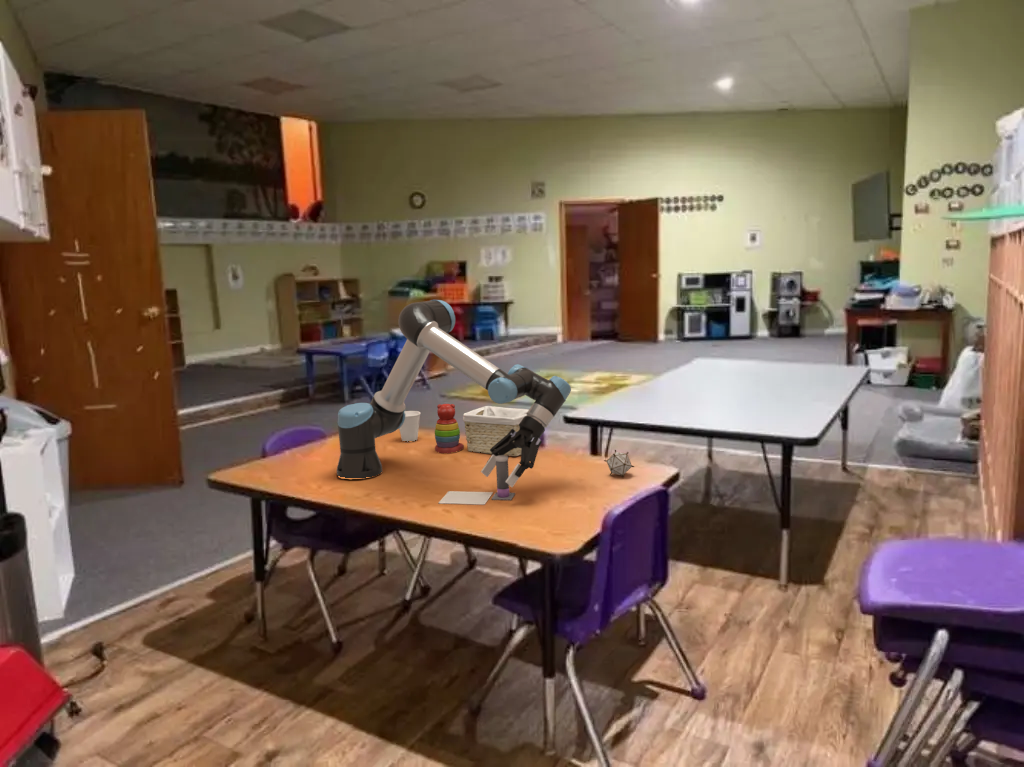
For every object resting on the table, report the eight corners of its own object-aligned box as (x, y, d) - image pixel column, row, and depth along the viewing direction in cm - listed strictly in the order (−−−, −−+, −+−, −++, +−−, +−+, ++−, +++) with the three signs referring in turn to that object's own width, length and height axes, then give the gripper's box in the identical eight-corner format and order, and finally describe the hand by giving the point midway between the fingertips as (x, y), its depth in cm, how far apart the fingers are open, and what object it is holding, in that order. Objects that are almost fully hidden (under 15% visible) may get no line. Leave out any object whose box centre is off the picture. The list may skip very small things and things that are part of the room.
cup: (393, 443, 294) (391, 416, 292) (401, 437, 304) (399, 410, 302) (418, 443, 292) (416, 416, 291) (425, 437, 302) (423, 410, 300)
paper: (438, 503, 220) (438, 502, 220) (448, 491, 231) (448, 491, 231) (484, 504, 218) (484, 504, 218) (493, 492, 228) (492, 492, 228)
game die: (625, 486, 242) (644, 462, 239) (610, 483, 235) (630, 459, 233) (608, 467, 247) (627, 444, 245) (594, 464, 241) (612, 440, 238)
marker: (496, 497, 223) (494, 458, 221) (498, 493, 226) (497, 454, 224) (508, 497, 222) (506, 458, 220) (510, 493, 225) (509, 455, 223)
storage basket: (462, 451, 278) (460, 413, 276) (487, 441, 291) (485, 404, 289) (517, 459, 265) (515, 418, 263) (540, 448, 279) (539, 409, 276)
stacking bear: (464, 446, 285) (462, 400, 282) (460, 453, 275) (457, 406, 272) (436, 447, 286) (434, 401, 283) (431, 454, 276) (428, 406, 273)
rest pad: (491, 499, 222) (491, 498, 222) (495, 493, 228) (495, 492, 228) (511, 500, 221) (511, 499, 221) (515, 493, 226) (515, 492, 226)
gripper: (568, 436, 219) (527, 496, 213) (520, 422, 240) (482, 476, 234) (553, 421, 215) (511, 482, 210) (505, 408, 236) (466, 463, 230)
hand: (496, 479), depth 222 cm, fingers open, 13 cm apart
